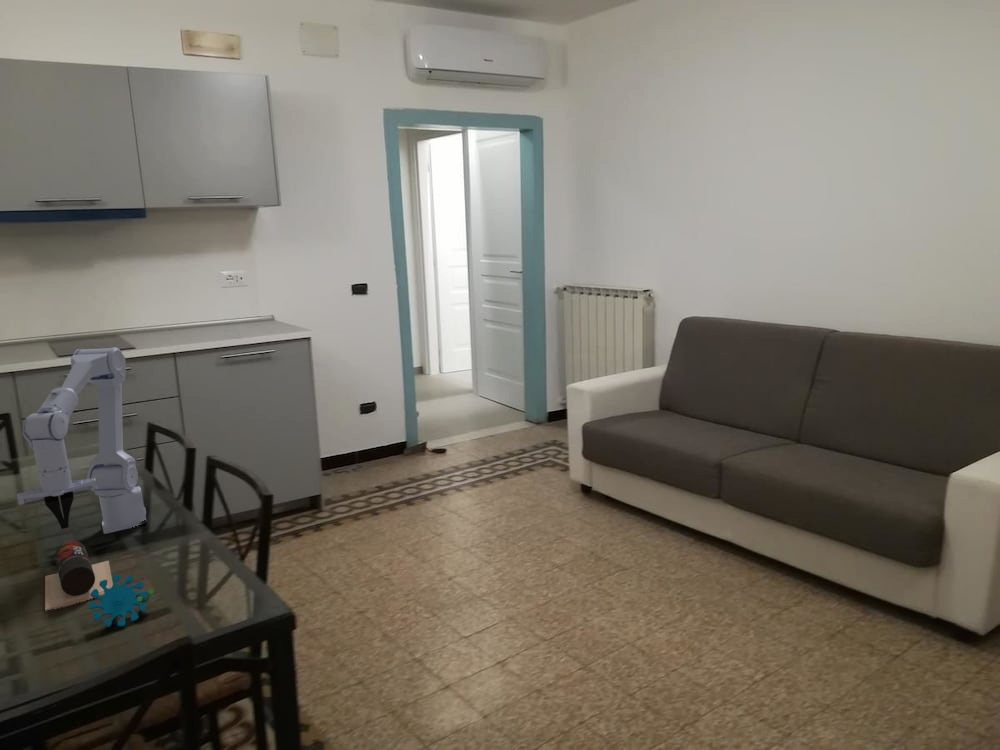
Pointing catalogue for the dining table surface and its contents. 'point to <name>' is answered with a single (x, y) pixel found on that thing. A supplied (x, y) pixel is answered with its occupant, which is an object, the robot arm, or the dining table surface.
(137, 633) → the dining table surface
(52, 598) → the pink flat board
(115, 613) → the blue virus model
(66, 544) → the deodorant
